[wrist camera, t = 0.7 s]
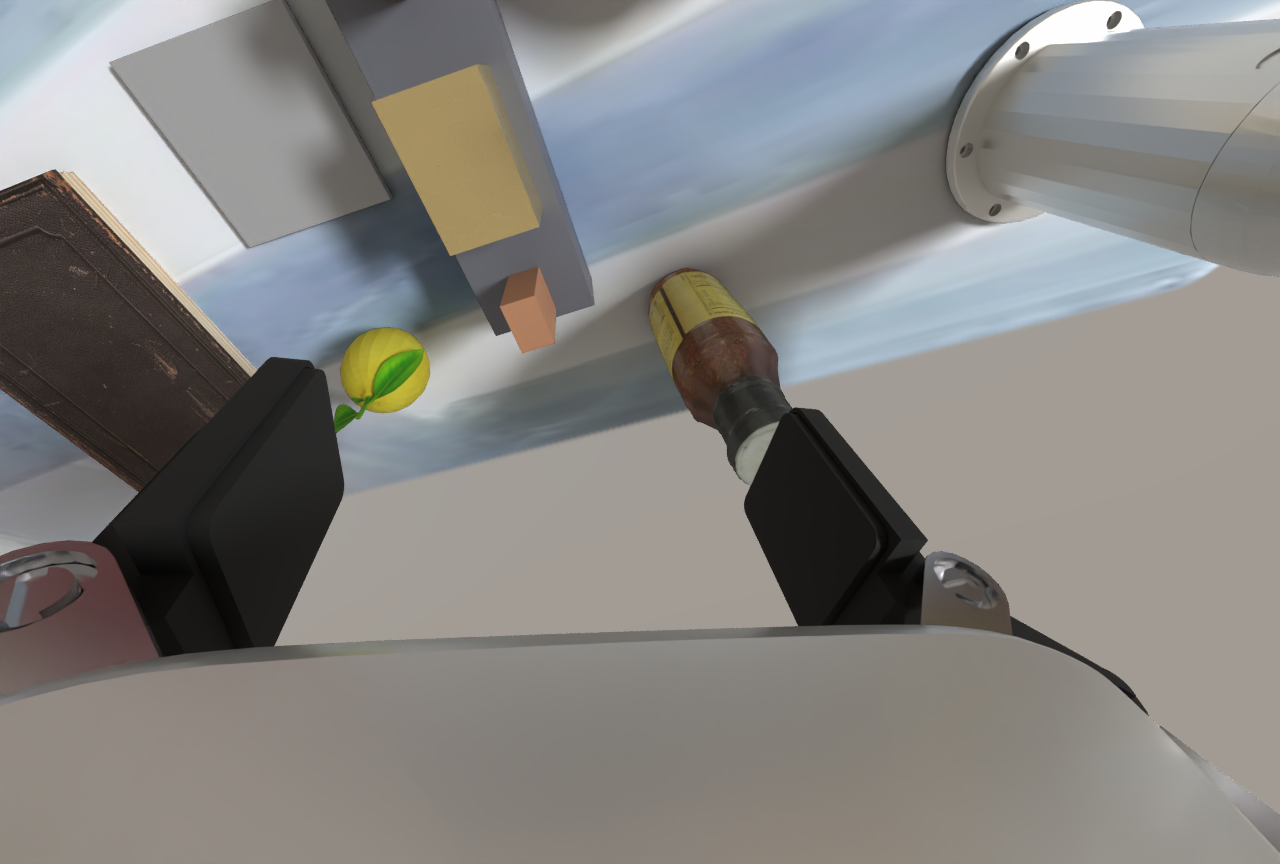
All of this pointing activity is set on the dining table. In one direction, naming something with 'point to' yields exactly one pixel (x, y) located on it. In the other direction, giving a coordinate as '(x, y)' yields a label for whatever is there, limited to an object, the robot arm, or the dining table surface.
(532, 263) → the plane body
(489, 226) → the tan rectangular block
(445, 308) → the dining table surface
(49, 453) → the dining table surface
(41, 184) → the hardcover book
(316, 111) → the mat
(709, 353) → the sauce bottle
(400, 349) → the lemon
